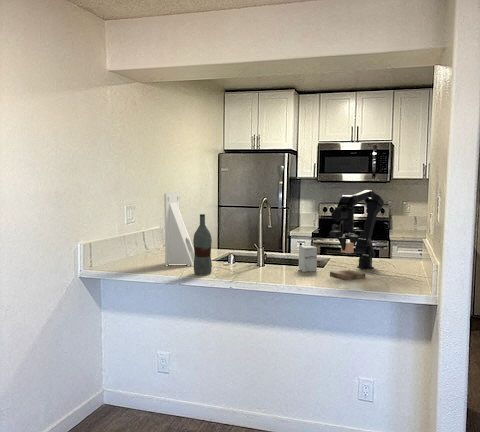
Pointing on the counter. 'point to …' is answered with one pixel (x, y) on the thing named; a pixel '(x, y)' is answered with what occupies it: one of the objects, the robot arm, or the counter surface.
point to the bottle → (202, 248)
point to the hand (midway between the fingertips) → (347, 250)
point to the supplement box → (308, 258)
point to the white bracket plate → (176, 233)
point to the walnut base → (347, 274)
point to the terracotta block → (348, 248)
